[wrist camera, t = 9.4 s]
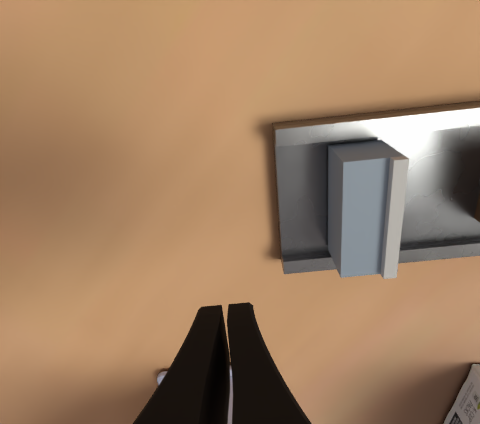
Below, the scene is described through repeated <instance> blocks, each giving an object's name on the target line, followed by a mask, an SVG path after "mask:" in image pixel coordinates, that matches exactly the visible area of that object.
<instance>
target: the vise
mask: <svg viewBox="0 0 480 424" xmlns="http://www.w3.org/2000/svg"><path fill="white" fill-rule="evenodd" d="M272 125H273V141H274V157H275V173H276V188H277V204H278V220H279V236H280V252H281V262H282V267H283V272H284V274H290V273H301V272H312V271H322V270H333V269H337V268H336V266H335V264H334V262H333V259H332V257H331V255H330V253H329V250H328V145H336V144H345V143H355V142H365V141H374V140H382V141H384V142H385V143H387V144H388V145H390V146H391V147H393V148H394V149H396V150H397V151H398V152H400V153H401V154H403V155H404V156H406V157H407V158H409V167H408V176H407V185H406V194H405V204H404V213H403V222H402V231H401V241H400V250H399V259H398V263H407V262H417V261H428V260H438V259H449V258H460V257H470V256H480V222H478V221H477V220H476V219H474V216H475V211H476V206H477V202H478V197H479V192H480V101H475V102H466V103H457V104H447V105H438V106H429V107H419V108H410V109H401V110H391V111H382V112H373V113H363V114H354V115H345V116H335V117H326V118H317V119H307V120H298V121H289V122H279V123H272Z"/></svg>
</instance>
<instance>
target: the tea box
mask: <svg viewBox="0 0 480 424" xmlns="http://www.w3.org/2000/svg"><path fill="white" fill-rule="evenodd" d="M443 424H480V364H472V367H471V369H470V372H469V375H468V377H467V380H466V381H465V383H464V384H463V386H462V388H461V390H460V392H459V394H458V396H457V398H456V401H455V403H454V405H453V407H452V409H451V410H450V411H449V413H448V415H447V417H446V419H445V421H444V423H443Z"/></svg>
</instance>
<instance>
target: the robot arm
mask: <svg viewBox="0 0 480 424" xmlns="http://www.w3.org/2000/svg"><path fill="white" fill-rule="evenodd" d="M227 327H228V338H229V348H228V342H227V336H226V330H225V323H224V317H223V311H222V305H217V306H206V307H201V308H200V309H199V310H198V312H197V315H196V317H195V320H194V322H193V324H192V326H191V328H190V331H189V333H188V335H187V337H186V339H185V341H184V343H183V345H182V346H181V348H180V350H179V352H178V354H177V356H176V357H175V359H174V361H173V363H172V365H171V366H170V368H169V370H168V371H164V372H161V373H159V374H158V377H157V382H158V388H157V389H156V391H155V392H154V394H153V395H152V397H151V398H150V400H149V401H148V403H147V404H146V406H145V407H144V409H143V410H142V412H141V413H140V414H139V416H138V417H137V418H136V420H135V421H134V423H133V424H311V422H310V421H309V419H308V418H307V416H306V415H305V413H304V412H303V410H302V409H301V407H300V406H299V404H298V403H297V401H296V400H295V398H294V396H293V395H292V393H291V392H290V390H289V388H288V387H287V385H286V383H285V381H284V380H283V378H282V376H281V374H280V372H279V371H278V369H277V367H276V365H275V363H274V361H273V359H272V357H271V355H270V353H269V351H268V349H267V347H266V345H265V342H264V340H263V338H262V335H261V333H260V330H259V327H258V325H257V322H256V318H255V314H254V310H253V305H252V304H250V303H238V304H229V306H228V316H227ZM229 349H230V356H229ZM230 359H231V366H230Z"/></svg>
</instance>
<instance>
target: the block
mask: <svg viewBox="0 0 480 424" xmlns="http://www.w3.org/2000/svg"><path fill="white" fill-rule="evenodd" d="M474 219H476V220H477V221H478V222H480V192H479V197H478V202H477V206H476V211H475V216H474Z"/></svg>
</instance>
